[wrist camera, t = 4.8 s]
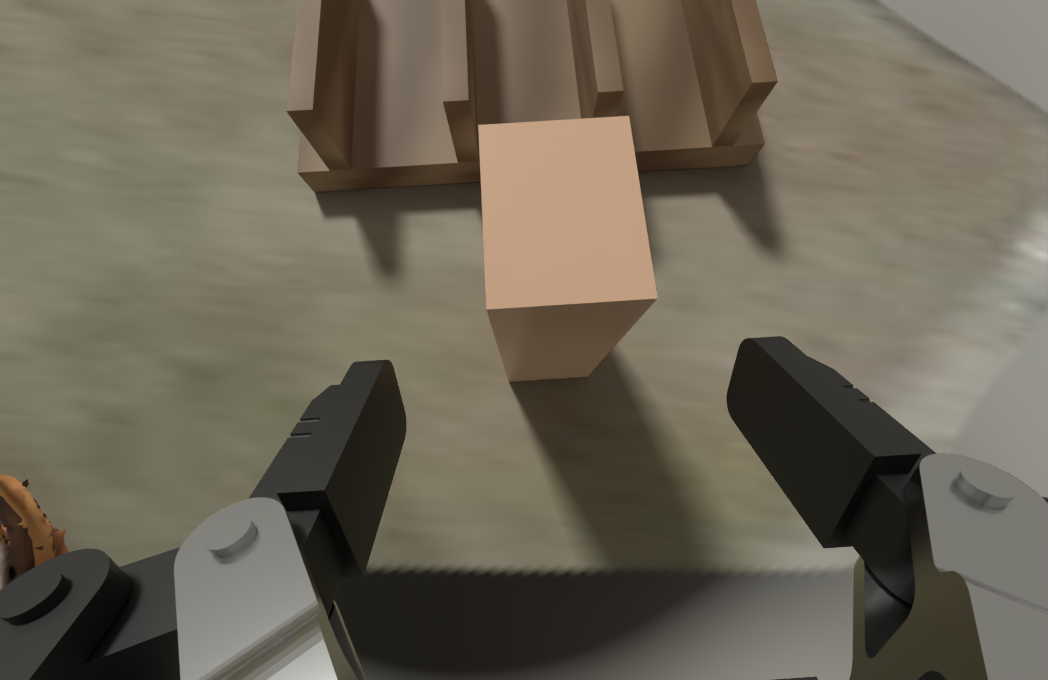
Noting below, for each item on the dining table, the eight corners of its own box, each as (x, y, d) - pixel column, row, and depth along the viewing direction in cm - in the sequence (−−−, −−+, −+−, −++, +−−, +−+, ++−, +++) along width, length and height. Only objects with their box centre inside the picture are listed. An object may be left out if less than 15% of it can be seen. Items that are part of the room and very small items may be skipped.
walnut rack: (314, 191, 20) (247, 113, 15) (327, 9, 23) (274, -104, 18) (747, 164, 21) (816, 78, 16) (706, -13, 23) (752, -132, 19)
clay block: (508, 381, 18) (486, 309, 8) (503, 286, 19) (478, 125, 9) (587, 376, 18) (657, 298, 8) (577, 282, 19) (628, 115, 9)
